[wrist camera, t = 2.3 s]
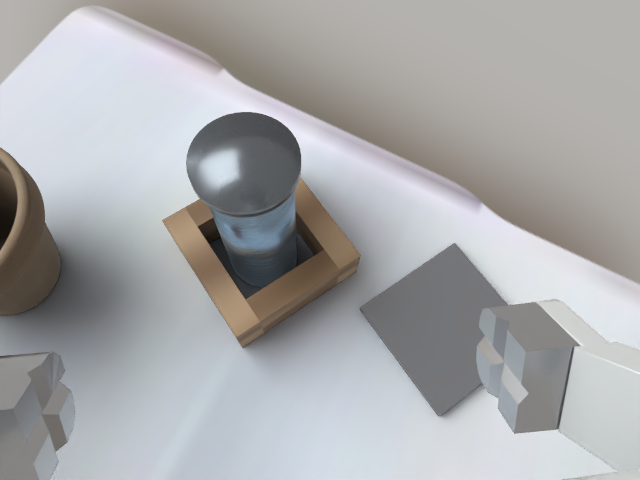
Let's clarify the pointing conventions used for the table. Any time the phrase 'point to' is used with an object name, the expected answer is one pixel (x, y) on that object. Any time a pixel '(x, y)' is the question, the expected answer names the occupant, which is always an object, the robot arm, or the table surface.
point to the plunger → (250, 191)
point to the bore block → (284, 293)
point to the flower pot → (23, 241)
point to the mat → (436, 325)
